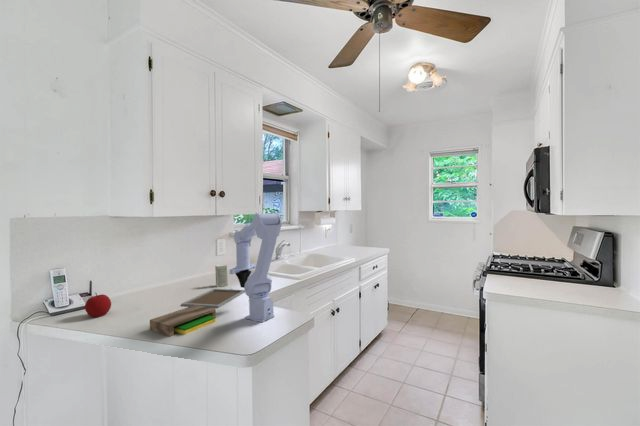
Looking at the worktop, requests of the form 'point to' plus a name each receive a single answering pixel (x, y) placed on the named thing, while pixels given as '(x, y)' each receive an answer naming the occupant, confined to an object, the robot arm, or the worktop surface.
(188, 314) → the low shelf
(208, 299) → the grey flat tray
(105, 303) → the apple
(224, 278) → the skincare box
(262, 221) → the robot arm
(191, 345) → the worktop surface
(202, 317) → the dish sponge
